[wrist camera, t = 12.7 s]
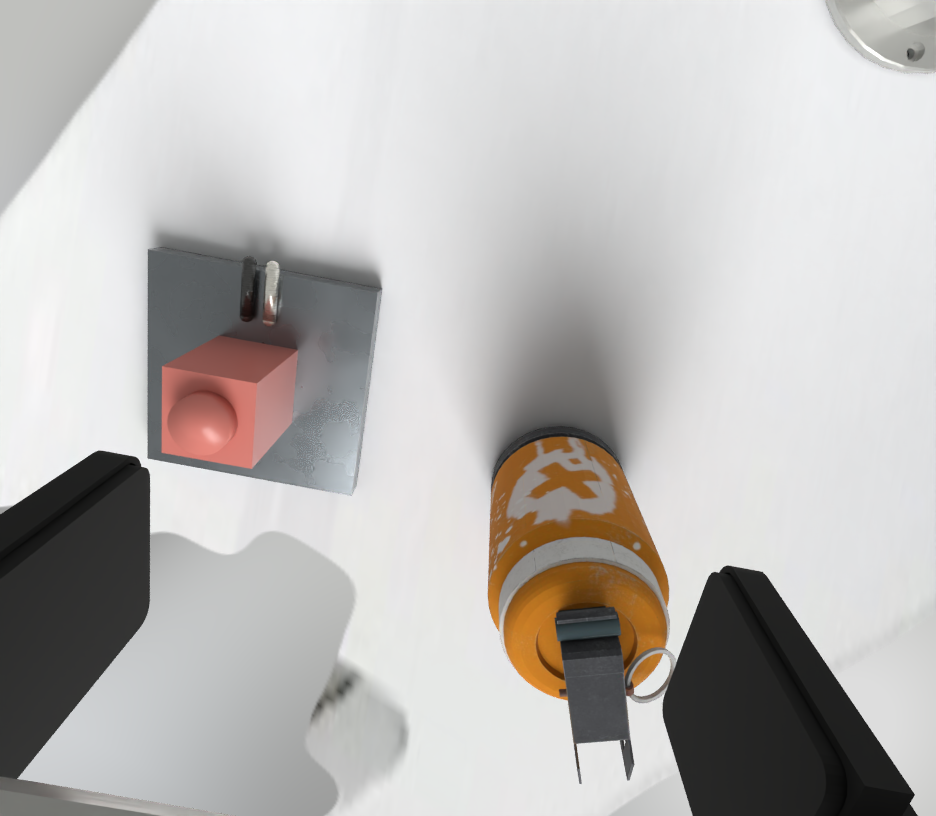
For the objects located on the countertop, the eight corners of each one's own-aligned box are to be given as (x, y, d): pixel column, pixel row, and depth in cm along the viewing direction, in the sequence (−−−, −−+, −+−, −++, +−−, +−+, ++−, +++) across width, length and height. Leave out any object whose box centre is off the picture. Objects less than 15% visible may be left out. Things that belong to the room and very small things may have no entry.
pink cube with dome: (219, 335, 39) (149, 372, 31) (298, 349, 39) (248, 390, 31) (216, 409, 41) (150, 461, 33) (291, 422, 41) (243, 478, 33)
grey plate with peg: (160, 234, 39) (102, 242, 33) (383, 276, 39) (363, 291, 33) (159, 449, 44) (108, 488, 38) (356, 485, 44) (334, 530, 38)
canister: (616, 414, 41) (714, 608, 22) (629, 557, 45) (722, 828, 26) (482, 432, 42) (467, 632, 23) (505, 570, 46) (508, 842, 27)
